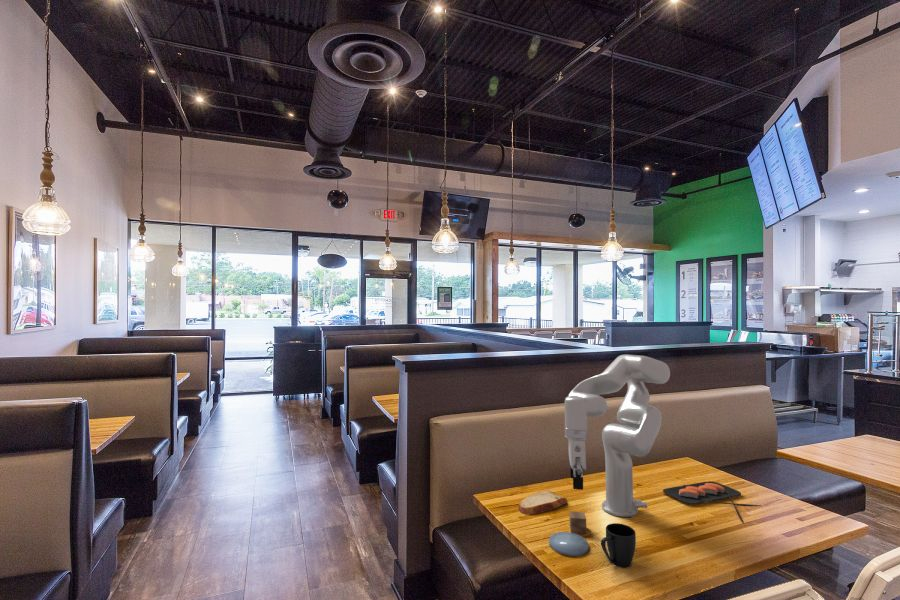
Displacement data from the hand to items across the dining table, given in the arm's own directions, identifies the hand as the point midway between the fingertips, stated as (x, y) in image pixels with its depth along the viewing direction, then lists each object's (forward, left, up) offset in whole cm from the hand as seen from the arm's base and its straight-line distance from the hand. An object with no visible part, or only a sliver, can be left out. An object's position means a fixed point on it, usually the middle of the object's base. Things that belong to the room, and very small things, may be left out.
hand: (576, 483), depth 146 cm
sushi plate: (-56, -31, -16) cm, 66 cm away
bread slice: (+11, -17, -16) cm, 26 cm away
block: (0, 0, -16) cm, 16 cm away
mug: (-9, +19, -16) cm, 26 cm away
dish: (+4, +11, -16) cm, 19 cm away
